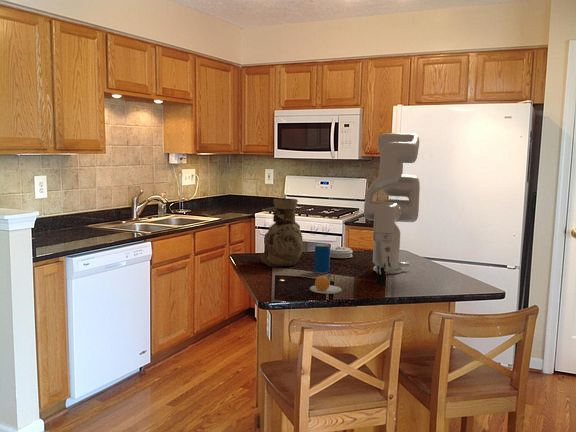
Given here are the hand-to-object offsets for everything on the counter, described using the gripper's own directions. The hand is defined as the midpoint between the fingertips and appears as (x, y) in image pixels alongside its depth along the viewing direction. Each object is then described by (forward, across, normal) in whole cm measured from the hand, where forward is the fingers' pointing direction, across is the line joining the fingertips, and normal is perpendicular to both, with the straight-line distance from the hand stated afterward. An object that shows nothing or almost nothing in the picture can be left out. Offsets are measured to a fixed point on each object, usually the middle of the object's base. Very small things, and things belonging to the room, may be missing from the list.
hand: (380, 283), depth 198 cm
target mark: (+2, 0, +22) cm, 22 cm away
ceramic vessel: (+2, +45, +30) cm, 54 cm away
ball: (-1, -2, +24) cm, 24 cm away
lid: (+2, +59, -2) cm, 59 cm away
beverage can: (+2, +27, +16) cm, 31 cm away
